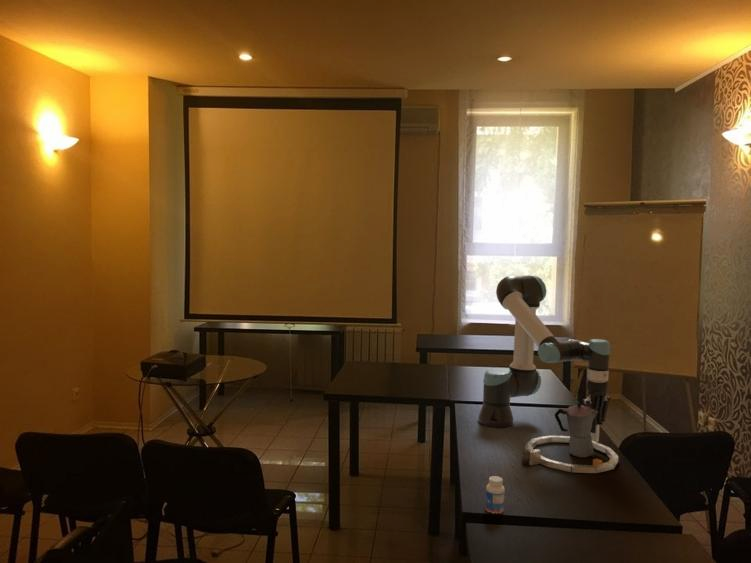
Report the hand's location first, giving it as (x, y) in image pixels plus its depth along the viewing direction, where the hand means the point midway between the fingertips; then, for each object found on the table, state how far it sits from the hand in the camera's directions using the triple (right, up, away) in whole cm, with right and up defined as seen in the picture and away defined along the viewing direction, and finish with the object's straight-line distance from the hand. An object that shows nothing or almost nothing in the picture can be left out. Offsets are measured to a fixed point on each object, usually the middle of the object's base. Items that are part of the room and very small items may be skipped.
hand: (594, 440), depth 227 cm
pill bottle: (-48, -8, -50) cm, 70 cm away
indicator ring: (-14, -4, -7) cm, 16 cm away
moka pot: (-6, -4, -3) cm, 8 cm away
